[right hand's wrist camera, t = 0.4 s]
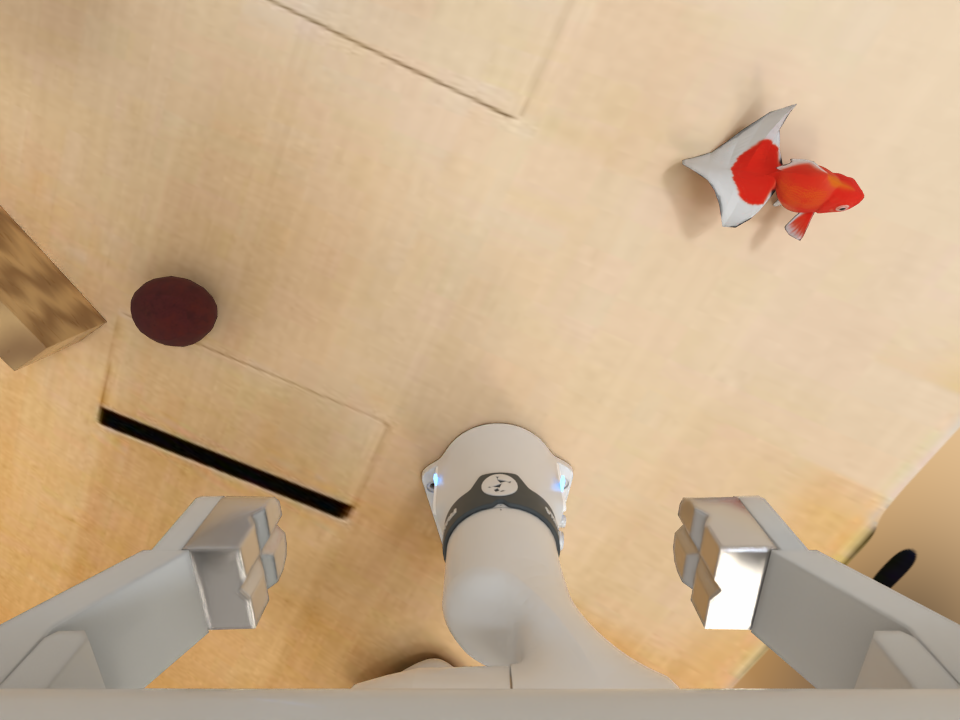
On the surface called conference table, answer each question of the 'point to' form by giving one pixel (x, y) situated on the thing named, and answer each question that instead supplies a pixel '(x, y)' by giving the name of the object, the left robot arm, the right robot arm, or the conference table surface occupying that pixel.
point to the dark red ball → (173, 311)
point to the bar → (36, 301)
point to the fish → (771, 178)
